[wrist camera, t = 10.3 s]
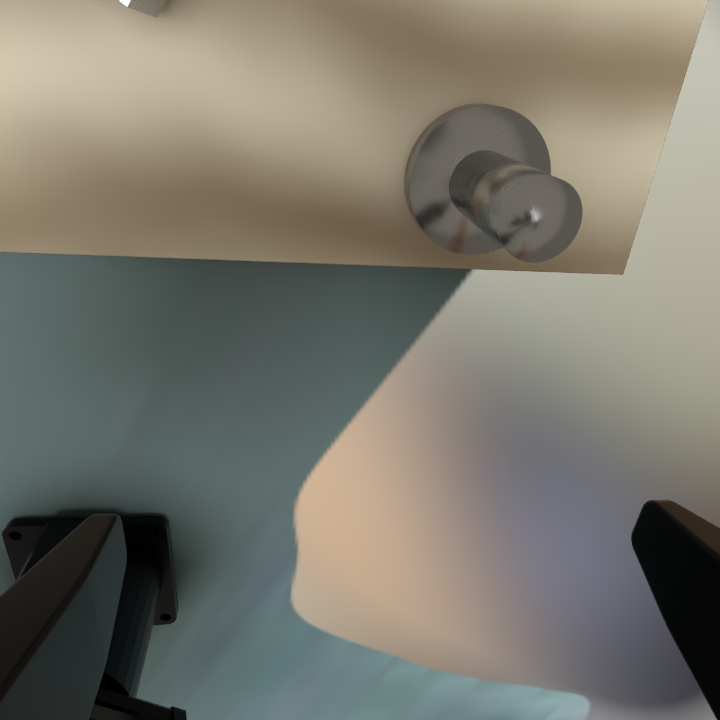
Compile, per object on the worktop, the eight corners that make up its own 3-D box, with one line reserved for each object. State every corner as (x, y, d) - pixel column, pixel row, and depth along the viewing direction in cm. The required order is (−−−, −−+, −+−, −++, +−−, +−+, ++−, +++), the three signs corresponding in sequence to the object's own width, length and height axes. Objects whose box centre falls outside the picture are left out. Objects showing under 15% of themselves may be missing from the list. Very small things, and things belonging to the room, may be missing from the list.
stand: (522, 248, 19) (602, 310, 14) (396, 243, 18) (436, 306, 14) (552, 109, 17) (658, 126, 12) (412, 97, 16) (466, 111, 12)
